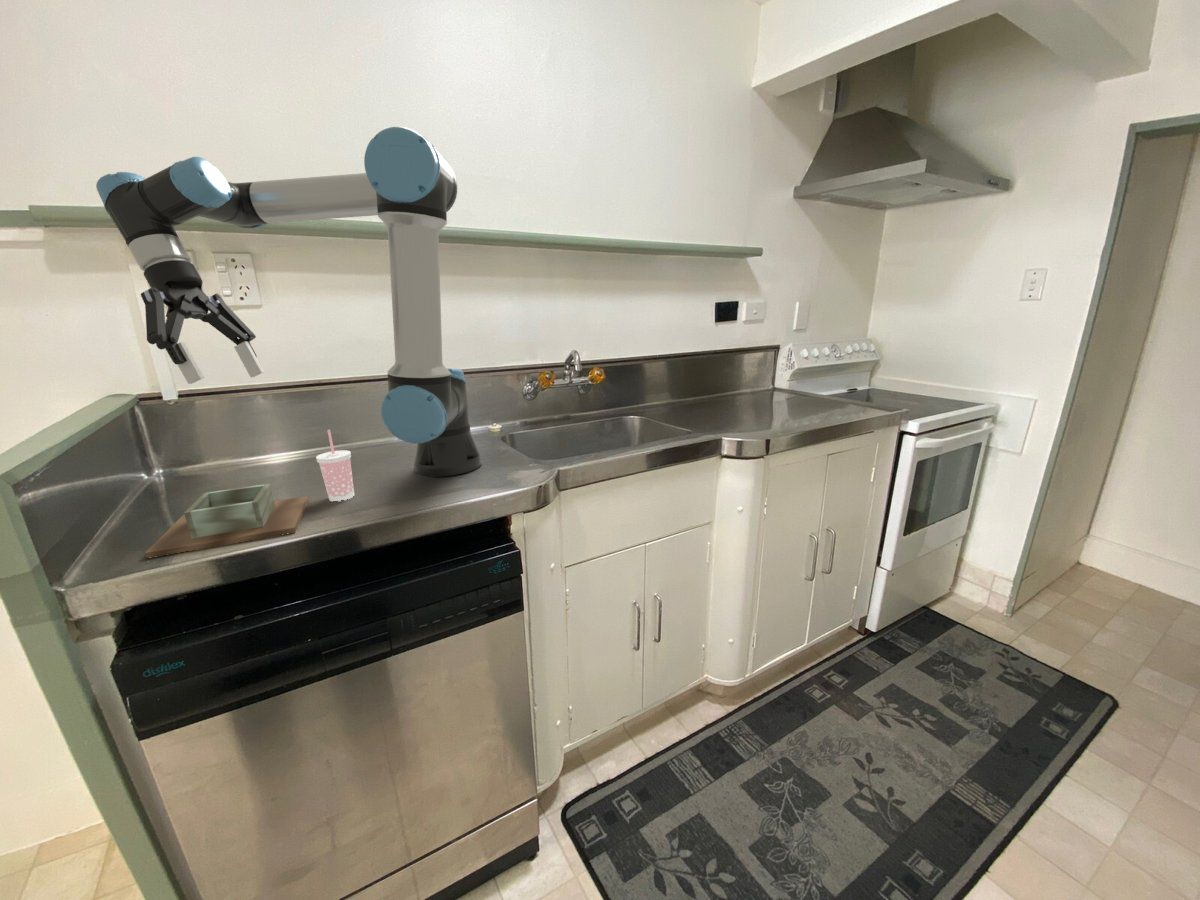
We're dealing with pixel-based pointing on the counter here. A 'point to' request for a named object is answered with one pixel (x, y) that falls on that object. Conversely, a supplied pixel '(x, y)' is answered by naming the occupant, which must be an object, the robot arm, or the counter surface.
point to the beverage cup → (337, 473)
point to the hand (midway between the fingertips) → (229, 377)
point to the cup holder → (231, 520)
